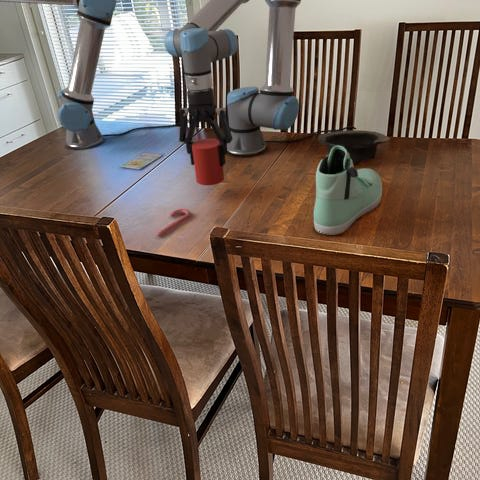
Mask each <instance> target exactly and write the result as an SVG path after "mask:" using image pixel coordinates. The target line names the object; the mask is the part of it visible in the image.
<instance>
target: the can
mask: <svg viewBox="0 0 480 480" xmlns="http://www.w3.org/2000/svg"><path fill="white" fill-rule="evenodd" d="M192 142H193V143H192V151H193V158H194V165H193V167H194V173H195V178H196V179H195V180H196V183H197V184H199V185H201V186H214V185H218V184H220V183H222V182H223V181H224V180H225V173H224V166H220V156H219V144H220V142H219V140H218V138H213V137H212V138H210V137H209V138H200V139H198V140H195V141H192Z"/></svg>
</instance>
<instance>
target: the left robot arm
mask: <svg viewBox="0 0 480 480" xmlns="http://www.w3.org/2000/svg"><path fill="white" fill-rule="evenodd" d="M0 2H1V3H18V4H19V3H20V4H39V5H57V6H58V5H59V6H74V7H75V8H76V10H77V13H76V16H77V17H78V19H79V21H80V22H79V27H78V32H77V37H76V42H75V47H74V53H73V58H72V63H71V68H70V74H69V78H68V83H67V87H66V88H63V89H60V90H58V91H57V98H58V100H59V108H58V109H57V119H58V122H59V124H60V125H61V126H62V128H64V129H65V130H66V133H65V144H66V148H68V149H70V150H85V149H92V148H94V147H97V146H99V145H102V143H104V138H105V137H120V136H121V137H122V136H124V135H127V134H129V133H131V132H134V131H139V130H147V129H163V128H165V129H167V128H173V127H178V126H180V121H179V122H178V123H175V124H170V125H154V126H153V125H151V126H140V127H135V128H131V129H129V130H126V131H124V132H121V133H110V134H102V132H101V130H100V129H99V127H98V125H97V124H96V121H95V117H94V112H93V107H94V103H95V98H94V95H93V94H92V92H93V88H94V83H95V78H96V73H97V68H98V64H99V60H100V55H101V51H102V44H103V41H104V36H105V31H106V29H108V28H110V27H111V25H112V20H113V15H114V12H115V9H116V7H117V0H0ZM187 123H191V120H190V119H188V118H187Z"/></svg>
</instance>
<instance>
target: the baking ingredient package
mask: <svg viewBox="0 0 480 480" xmlns="http://www.w3.org/2000/svg"><path fill="white" fill-rule="evenodd" d="M161 157H162V154H156V153H155V154H154V153H147V152H143V153H140V154H138V156H135V157H134V158H132V159H130V160H129V161H127V162H125V163H123V164H122V165H120V166H119V167H121V168H126V169H134V170H141V169H142V168H144V167H145V166H147V165H149V164H150V163H152V162H154V161H155V160H157V159H158V158H161Z"/></svg>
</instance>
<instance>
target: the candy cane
mask: <svg viewBox="0 0 480 480" xmlns="http://www.w3.org/2000/svg"><path fill="white" fill-rule="evenodd" d="M181 214H184V215H182V216H181V217H179V218H178V219H176V220H175V221H173V222H171V223H170V224H168V225H167V226H165V227H164V228H162V229H161V230H159V231H158V232H156V236H157V237H159V238H160V237H162V236H164V235H166V234H167V233H168V232H170V231H171V230H173V229H175V228H176V227H178V226H180V225H181V224H182V223H184V222H185V221H187V220H189V218H191V215H192V214H191V211H190V210H189V209H186V208H179V209H178V208H177V209H175V210H173V211H172V212H171V213H170V217H172V218H175V216H178V215H181Z"/></svg>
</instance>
